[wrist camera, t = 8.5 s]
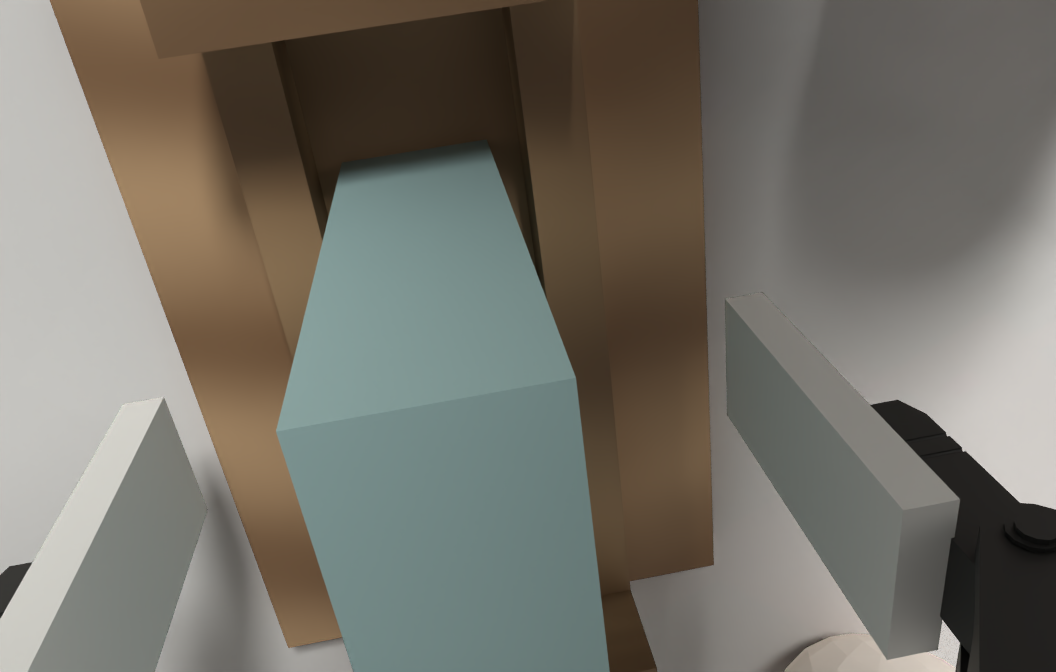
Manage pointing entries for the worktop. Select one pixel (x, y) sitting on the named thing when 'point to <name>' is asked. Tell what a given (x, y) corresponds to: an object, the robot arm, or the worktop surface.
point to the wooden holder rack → (403, 126)
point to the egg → (861, 658)
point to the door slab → (441, 430)
